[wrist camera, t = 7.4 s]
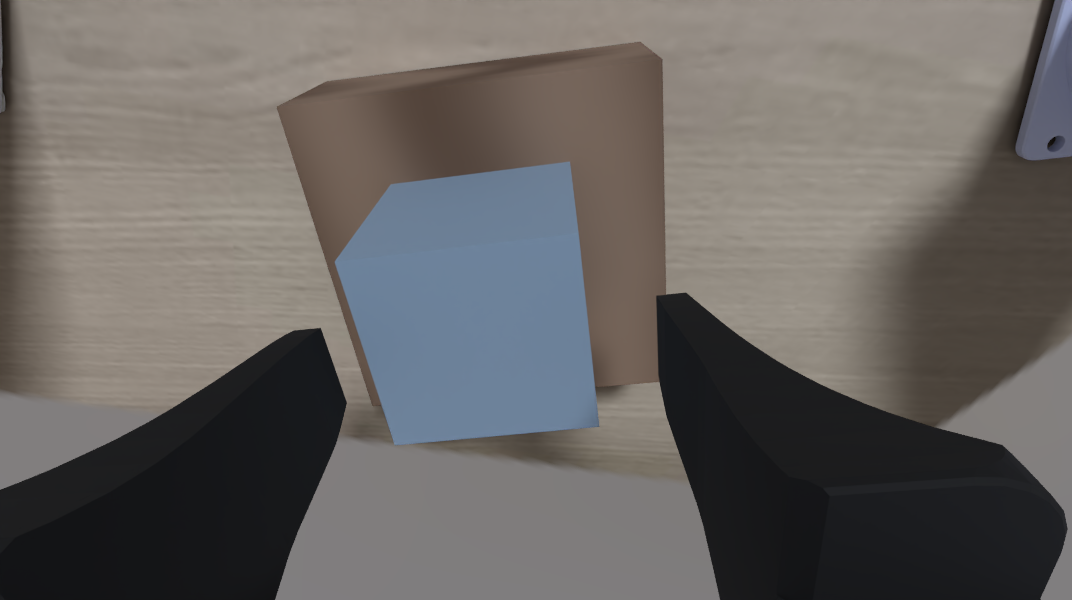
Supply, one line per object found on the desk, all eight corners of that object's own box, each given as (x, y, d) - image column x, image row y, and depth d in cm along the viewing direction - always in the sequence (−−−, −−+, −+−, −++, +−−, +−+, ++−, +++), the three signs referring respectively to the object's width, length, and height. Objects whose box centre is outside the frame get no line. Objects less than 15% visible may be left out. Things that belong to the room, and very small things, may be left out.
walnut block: (640, 41, 18) (662, 59, 15) (649, 318, 23) (667, 381, 20) (326, 81, 19) (276, 106, 16) (398, 342, 24) (372, 406, 20)
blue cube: (569, 161, 16) (578, 233, 12) (586, 318, 19) (599, 426, 14) (390, 184, 16) (334, 261, 12) (430, 335, 19) (394, 445, 15)
